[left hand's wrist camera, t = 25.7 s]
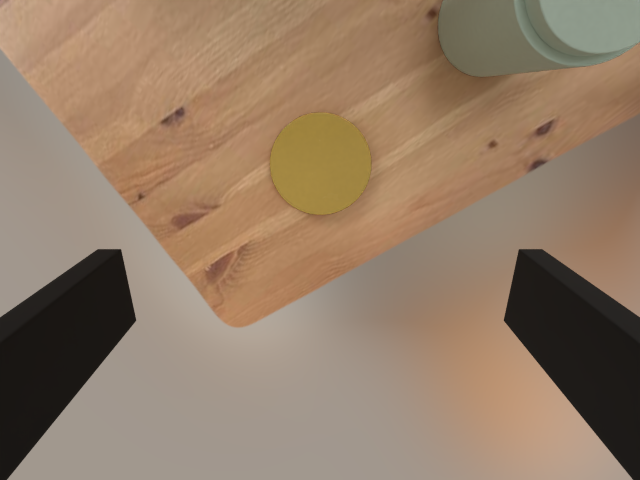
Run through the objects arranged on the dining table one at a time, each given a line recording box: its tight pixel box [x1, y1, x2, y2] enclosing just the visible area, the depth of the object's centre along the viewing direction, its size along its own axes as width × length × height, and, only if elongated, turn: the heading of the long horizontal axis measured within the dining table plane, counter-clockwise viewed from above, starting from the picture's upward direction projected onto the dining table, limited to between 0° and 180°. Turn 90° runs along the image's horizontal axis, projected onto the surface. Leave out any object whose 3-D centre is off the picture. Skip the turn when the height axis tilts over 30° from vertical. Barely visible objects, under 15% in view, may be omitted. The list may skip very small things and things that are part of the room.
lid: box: [270, 112, 371, 215], centre depth 36 cm, size 10×10×2 cm
